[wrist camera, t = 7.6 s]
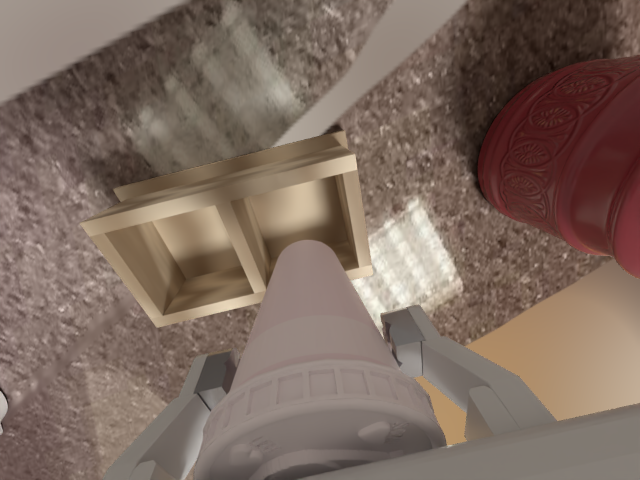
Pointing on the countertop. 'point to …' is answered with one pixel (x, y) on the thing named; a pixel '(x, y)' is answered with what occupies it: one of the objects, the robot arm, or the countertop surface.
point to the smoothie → (314, 384)
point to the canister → (572, 158)
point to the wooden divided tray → (232, 226)
